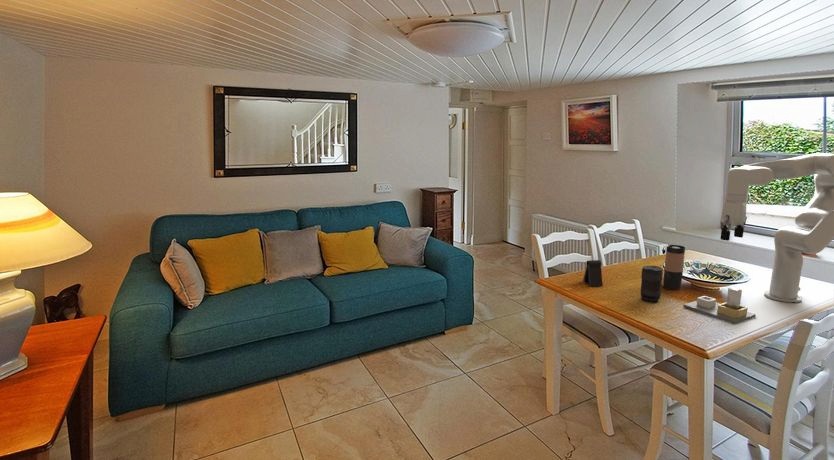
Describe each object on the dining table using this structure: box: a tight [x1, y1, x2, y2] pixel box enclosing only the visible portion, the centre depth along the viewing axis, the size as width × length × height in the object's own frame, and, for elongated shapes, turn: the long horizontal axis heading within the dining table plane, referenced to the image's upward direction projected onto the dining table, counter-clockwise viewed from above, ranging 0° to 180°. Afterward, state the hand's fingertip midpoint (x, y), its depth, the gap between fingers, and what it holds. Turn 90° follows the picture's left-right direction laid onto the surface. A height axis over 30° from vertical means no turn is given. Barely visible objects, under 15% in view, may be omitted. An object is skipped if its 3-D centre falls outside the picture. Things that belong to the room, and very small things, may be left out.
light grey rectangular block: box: [725, 287, 743, 310], centre depth 173 cm, size 4×4×10 cm
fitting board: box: [683, 295, 757, 325], centre depth 178 cm, size 14×20×4 cm
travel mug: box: [662, 244, 686, 291], centre depth 206 cm, size 8×8×20 cm
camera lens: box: [640, 265, 664, 304], centre depth 191 cm, size 8×8×15 cm
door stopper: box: [582, 259, 604, 288], centre depth 214 cm, size 9×6×12 cm, turn 3°
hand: (731, 238), depth 183 cm, fingers open, 9 cm apart
